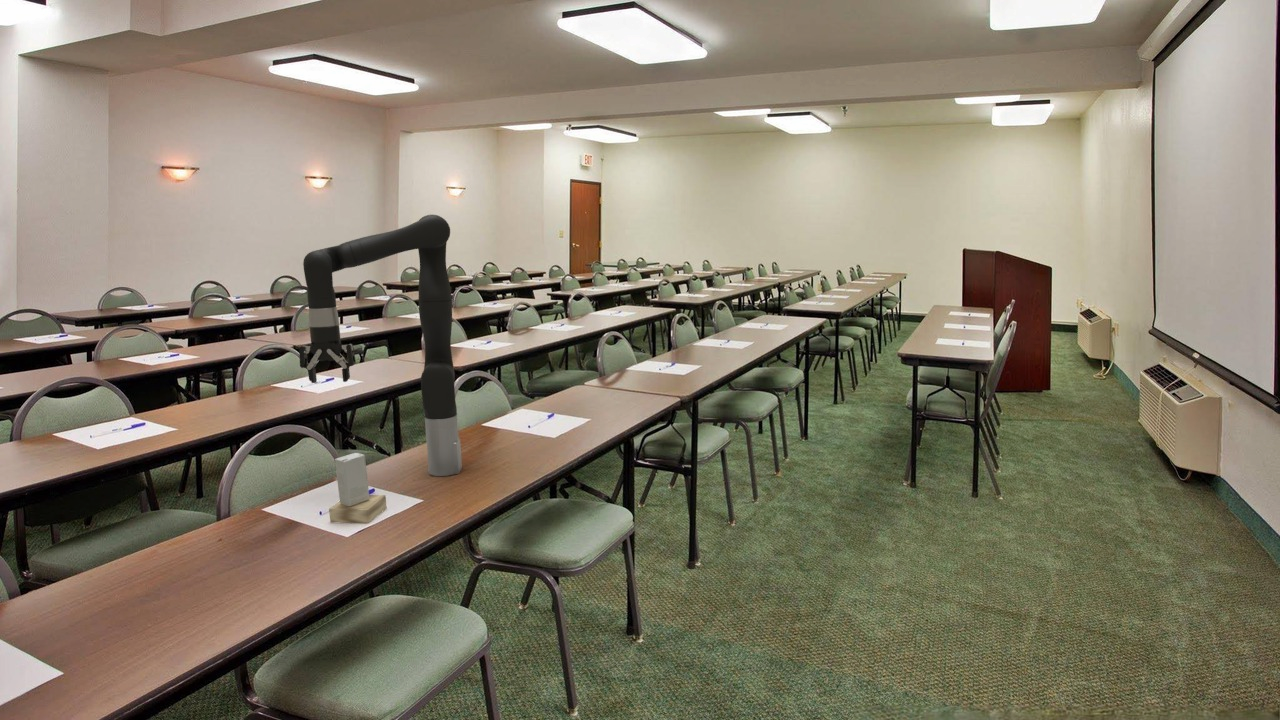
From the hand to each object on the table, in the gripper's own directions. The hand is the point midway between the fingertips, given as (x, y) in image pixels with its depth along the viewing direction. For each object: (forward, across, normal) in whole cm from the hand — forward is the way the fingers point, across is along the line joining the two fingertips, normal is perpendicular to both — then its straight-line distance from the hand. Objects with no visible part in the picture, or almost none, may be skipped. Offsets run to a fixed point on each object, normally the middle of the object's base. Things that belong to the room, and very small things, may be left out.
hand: (329, 381), depth 203 cm
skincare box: (+27, -12, +24) cm, 38 cm away
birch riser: (+31, -12, +24) cm, 41 cm away
